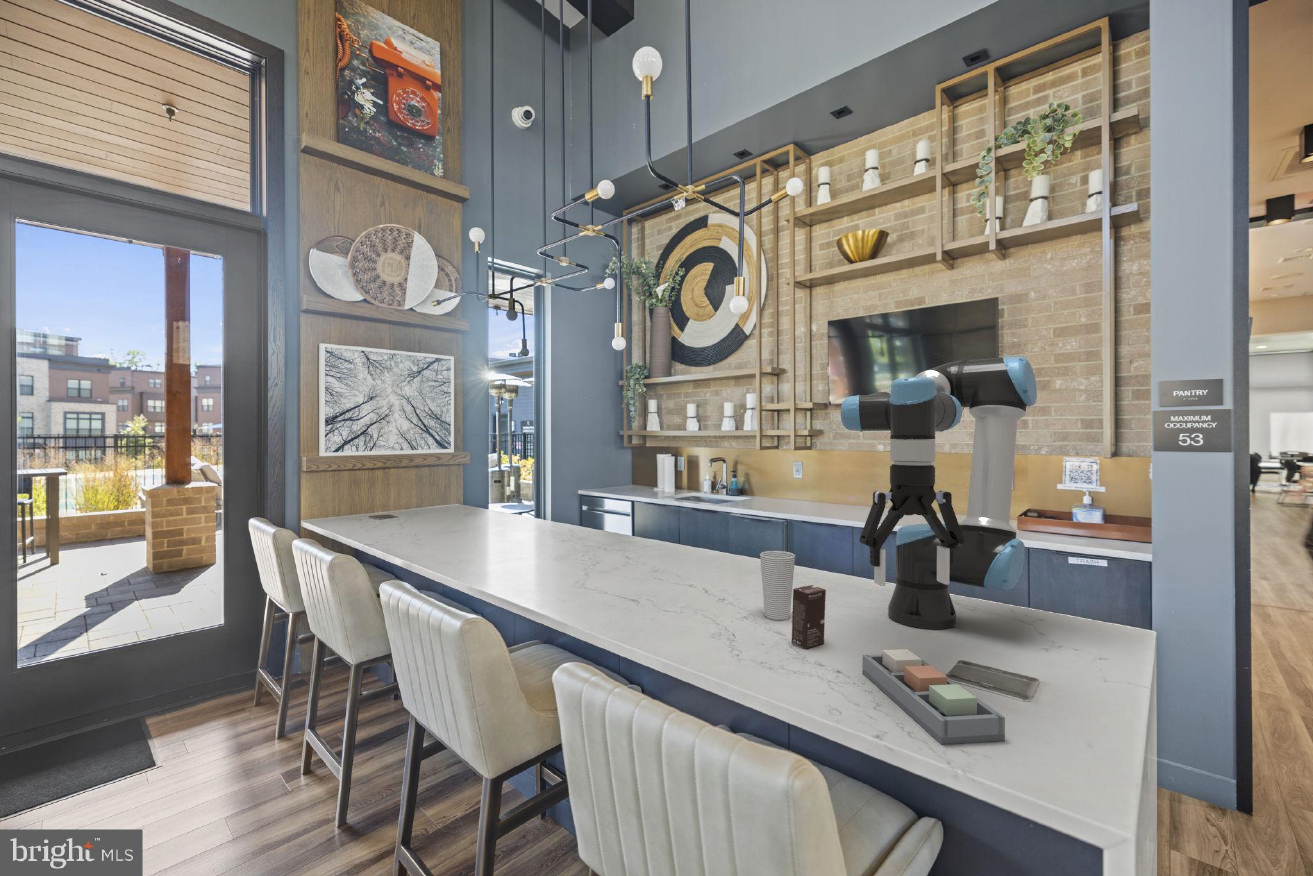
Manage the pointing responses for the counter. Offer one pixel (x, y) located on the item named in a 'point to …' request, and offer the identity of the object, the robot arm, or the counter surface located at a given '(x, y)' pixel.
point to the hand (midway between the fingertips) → (911, 583)
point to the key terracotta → (923, 677)
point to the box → (808, 616)
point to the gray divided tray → (935, 708)
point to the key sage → (952, 699)
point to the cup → (777, 583)
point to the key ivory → (900, 659)
